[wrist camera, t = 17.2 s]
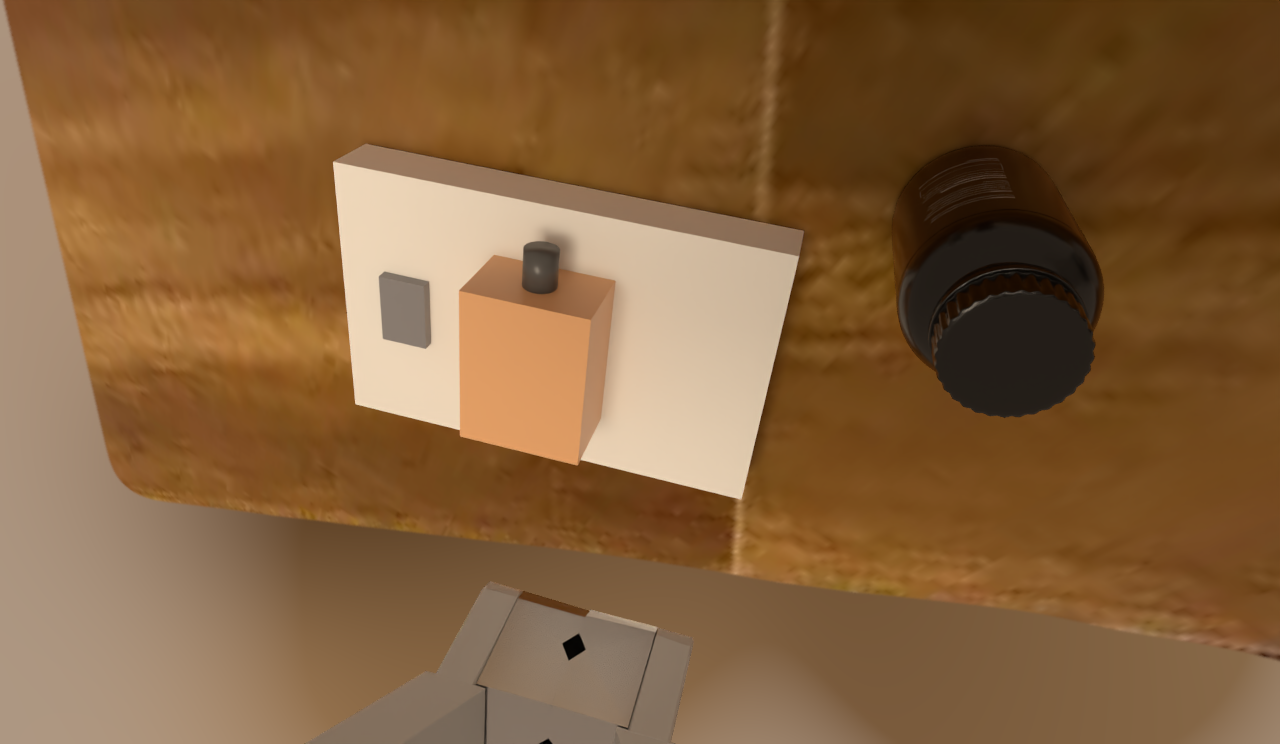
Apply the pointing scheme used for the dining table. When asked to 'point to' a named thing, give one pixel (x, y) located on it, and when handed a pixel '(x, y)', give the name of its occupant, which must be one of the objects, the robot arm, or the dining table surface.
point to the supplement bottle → (995, 281)
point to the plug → (533, 354)
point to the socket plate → (589, 244)
